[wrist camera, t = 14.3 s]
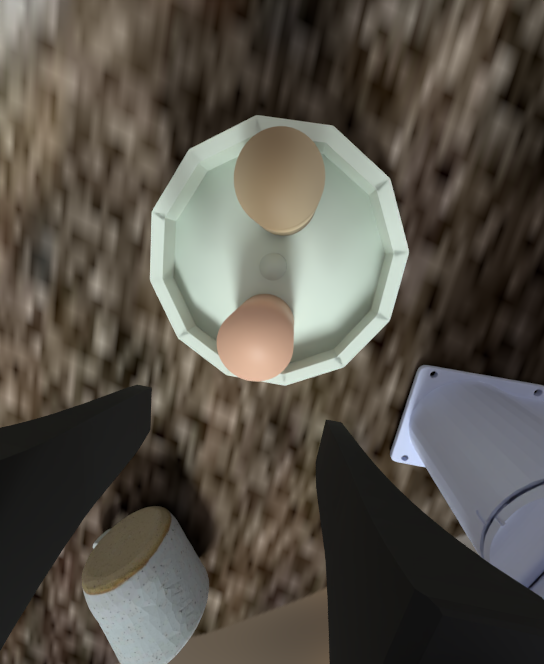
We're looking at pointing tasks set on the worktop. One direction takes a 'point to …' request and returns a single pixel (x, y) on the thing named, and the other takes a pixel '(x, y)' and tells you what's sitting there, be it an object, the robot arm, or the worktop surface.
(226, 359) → the peach rounded oval piece
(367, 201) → the groove tray
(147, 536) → the ceramic mug
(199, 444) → the worktop surface
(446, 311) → the worktop surface
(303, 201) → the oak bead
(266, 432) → the worktop surface
